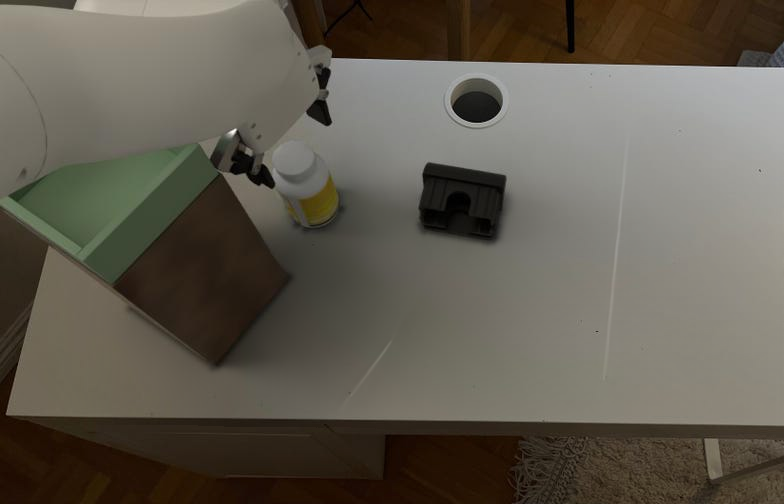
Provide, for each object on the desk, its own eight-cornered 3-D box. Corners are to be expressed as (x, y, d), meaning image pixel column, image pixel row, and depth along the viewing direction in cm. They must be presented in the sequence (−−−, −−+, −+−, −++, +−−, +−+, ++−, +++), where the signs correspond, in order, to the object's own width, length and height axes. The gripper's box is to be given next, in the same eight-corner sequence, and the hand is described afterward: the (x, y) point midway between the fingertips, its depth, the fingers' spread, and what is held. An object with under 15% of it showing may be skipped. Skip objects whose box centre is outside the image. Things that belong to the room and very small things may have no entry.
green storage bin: (112, 284, 53) (82, 261, 49) (5, 209, 55) (-32, 181, 51) (219, 174, 57) (200, 144, 53) (115, 109, 60) (90, 76, 56)
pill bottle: (350, 201, 84) (334, 150, 73) (319, 238, 82) (298, 192, 71) (310, 177, 85) (289, 124, 75) (278, 213, 83) (252, 164, 72)
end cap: (504, 193, 85) (508, 165, 79) (495, 241, 82) (498, 216, 76) (429, 181, 86) (427, 152, 79) (418, 228, 83) (414, 202, 76)
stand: (214, 366, 74) (112, 287, 53) (131, 307, 77) (1, 210, 55) (288, 278, 79) (222, 173, 58) (207, 226, 82) (115, 106, 60)
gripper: (276, -38, 60) (315, 82, 76) (141, 87, 54) (213, 190, 70) (341, -4, 59) (366, 111, 74) (209, 129, 53) (267, 224, 68)
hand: (292, 149), depth 72 cm, fingers open, 9 cm apart
